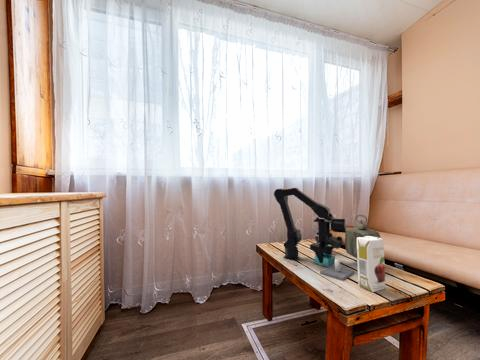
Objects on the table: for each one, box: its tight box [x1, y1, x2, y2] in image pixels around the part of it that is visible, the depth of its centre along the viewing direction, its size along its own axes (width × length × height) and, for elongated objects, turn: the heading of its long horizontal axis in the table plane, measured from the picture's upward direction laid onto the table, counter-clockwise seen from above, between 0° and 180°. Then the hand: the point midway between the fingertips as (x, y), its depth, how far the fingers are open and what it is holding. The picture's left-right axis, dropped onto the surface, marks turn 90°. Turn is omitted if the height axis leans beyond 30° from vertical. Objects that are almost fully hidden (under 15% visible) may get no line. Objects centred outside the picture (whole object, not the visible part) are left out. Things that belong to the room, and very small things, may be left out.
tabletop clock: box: [344, 214, 381, 259], centre depth 107 cm, size 14×9×25 cm, turn 14°
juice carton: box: [356, 236, 386, 293], centre depth 83 cm, size 8×9×19 cm
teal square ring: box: [314, 253, 336, 268], centre depth 109 cm, size 7×7×4 cm
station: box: [320, 258, 355, 281], centre depth 96 cm, size 10×12×6 cm
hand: (324, 261), depth 109 cm, fingers closed on teal square ring, 7 cm apart
